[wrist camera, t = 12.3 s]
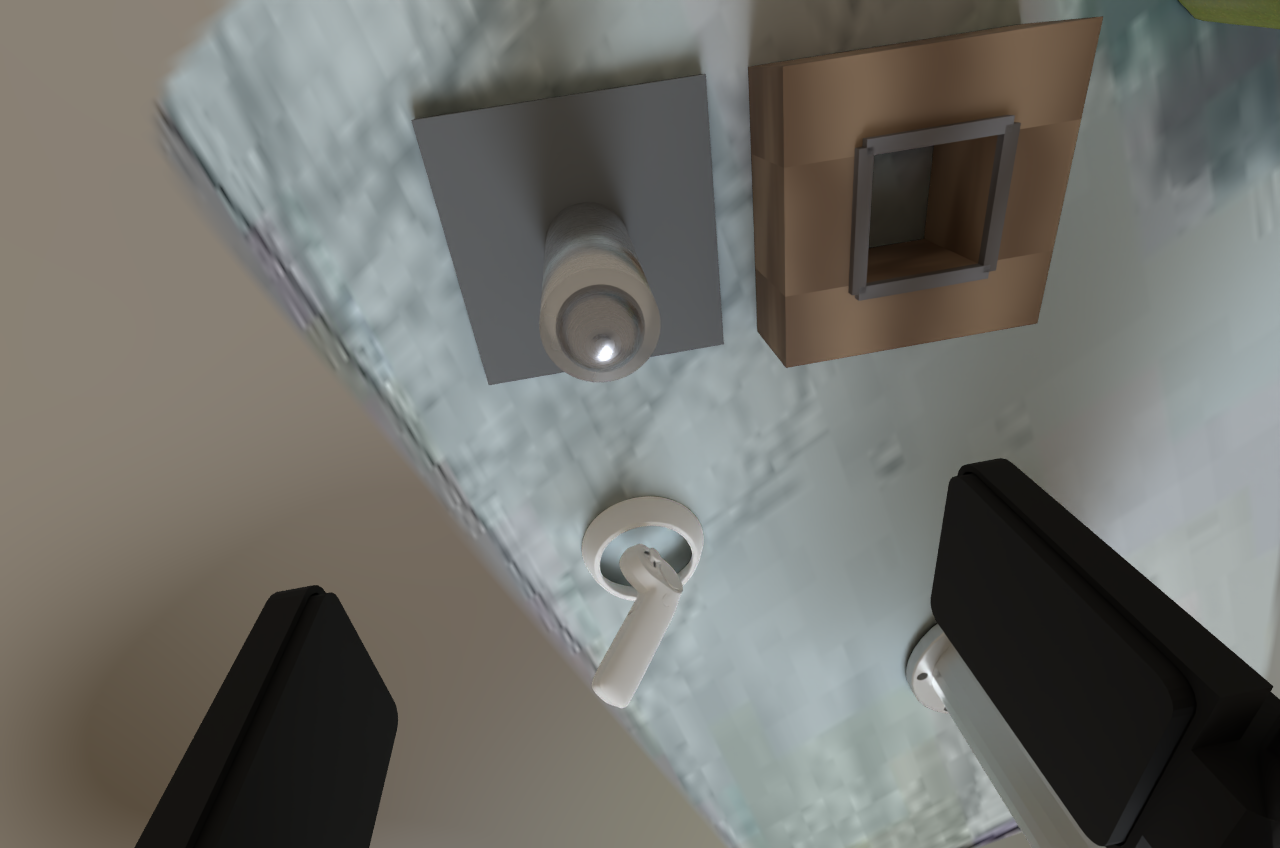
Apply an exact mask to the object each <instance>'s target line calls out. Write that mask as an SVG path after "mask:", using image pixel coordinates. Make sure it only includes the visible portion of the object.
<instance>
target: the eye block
mask: <svg viewBox="0 0 1280 848" xmlns="http://www.w3.org/2000/svg"><path fill="white" fill-rule="evenodd" d="M1102 20H1103V16H1102V17H1092V18H1081V19H1071V20H1060V21H1049V22H1039V23H1028V24H1019V25H1013V26H1006V27H1000V28H994V29H987V30H981V31H975V32H968V33H962V34H955V35H949V36H943V37H936V38H930V39H923V40H917V41H911V42H904V43H898V44H891V45H885V46H879V47H872V48H866V49H860V50H853V51H847V52H840V53H834V54H828V55H821V56H815V57H808V58H802V59H796V60H789V61H783V62H776V63H770V64H764V65H757V66H751V67H748V77H749V105H750V133H751V161H752V189H753V217H754V245H755V273H756V301H757V329H758V333H759V334H760V335H761V337H762V338H763V339H764V340H765V342H766V343H767V344H768V345H769V347H770V348H771V349H772V351H773V352H774V353H775V354H776V356H777V357H778V358H779V359H780V361H781V362H782V363H783V365H784V366H785V367H786V368H788V367H794V366H799V365H805V364H811V363H816V362H822V361H827V360H833V359H839V358H844V357H850V356H856V355H861V354H867V353H873V352H878V351H884V350H889V349H895V348H901V347H906V346H912V345H918V344H923V343H929V342H935V341H940V340H946V339H951V338H957V337H963V336H968V335H974V334H980V333H985V332H991V331H997V330H1002V329H1008V328H1013V327H1019V326H1025V325H1030V324H1036V323H1037V322H1038V318H1039V313H1040V308H1041V304H1042V299H1043V294H1044V290H1045V285H1046V280H1047V276H1048V271H1049V266H1050V262H1051V257H1052V252H1053V248H1054V243H1055V238H1056V234H1057V229H1058V225H1059V220H1060V215H1061V211H1062V206H1063V201H1064V197H1065V192H1066V187H1067V183H1068V178H1069V173H1070V169H1071V164H1072V159H1073V155H1074V150H1075V145H1076V141H1077V136H1078V131H1079V127H1080V122H1081V118H1082V113H1083V108H1084V104H1085V99H1086V94H1087V90H1088V85H1089V80H1090V76H1091V71H1092V66H1093V62H1094V57H1095V52H1096V48H1097V43H1098V38H1099V34H1100V29H1101V25H1102ZM933 145H934V148H933V158H932V167H931V177H930V186H929V196H928V205H927V215H926V224H925V234H924V239H920V240H914V241H908V242H902V243H897V244H891V245H885V246H879V247H873V248H869V232H870V216H871V199H872V182H873V166H874V155H878V154H884V153H890V152H896V151H903V150H909V149H915V148H921V147H927V146H933Z"/></svg>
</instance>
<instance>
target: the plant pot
mask: <svg viewBox="0 0 1280 848" xmlns="http://www.w3.org/2000/svg"><path fill="white" fill-rule="evenodd" d="M1178 1H1179V2H1180V3H1181V4H1182V5H1183V6H1184V7H1185V8H1186V9H1187V10H1188V11H1189V12H1190V13H1191V14H1192V15H1193V17H1194V18H1196V19H1199V20H1203V21H1211V22H1219V23H1227V24H1237V25H1248V26H1258V27H1267V28H1275V29H1280V0H1178Z"/></svg>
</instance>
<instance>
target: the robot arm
mask: <svg viewBox="0 0 1280 848" xmlns="http://www.w3.org/2000/svg"><path fill="white" fill-rule="evenodd" d="M931 608H932V612H933V615H934V617H935V620H936V621H937V624H936V625H935V626H934V627H932V628H931V629H930V630H929V631H928V632H927V633H926V634H925V635H924V636H923V637H922V638H921V640H920V641H919V643H918V644H917V645H916V647H915V648H914V650H913V652H912V654H911V656H910V658H909V660H908V665H907V669H906V676H907V682H908V684H909V686H910V689H911V690H912V692H913V694H914V695H915V697H916V698H917V700H918V701H919V702H920V703H921V704H923V705H924V706H925V707H927V708H929V709H932V710H934V711H937V712H942V713H947V714H950V716H951V717H952V719H953V721H954V722H955V724H956V726H957V727H958V729H959V730H960V732H961V734H962V735H963V737H964V738H965V740H966V742H967V743H968V745H969V747H970V748H971V750H972V751H973V753H974V755H975V756H976V758H977V760H978V761H979V763H980V764H981V766H982V768H983V769H984V771H985V772H986V774H987V776H988V777H989V779H990V781H991V782H992V784H993V785H994V787H995V789H996V790H997V792H998V794H999V795H1000V797H1001V798H1002V800H1003V802H1004V803H1005V805H1006V806H1007V808H1008V810H1009V811H1010V813H1011V815H1012V816H1013V818H1014V819H1015V821H1016V823H1017V824H1018V826H1019V828H1020V829H1021V831H1022V832H1023V834H1024V835H1025V837H1026V839H1027V840H1028V842H1029V844H1030V845H1031V847H1032V848H1280V699H1278V698H1277V697H1276V696H1275V695H1274V694H1273V693H1272V692H1270V691H1271V690H1272V688H1273V686H1272V685H1271V684H1270V683H1269V682H1268V681H1266V680H1265V679H1264V678H1263V677H1262V676H1261V675H1259V674H1258V673H1257V672H1256V671H1255V670H1254V669H1252V668H1251V667H1250V666H1249V665H1248V664H1247V663H1245V662H1244V661H1243V660H1242V659H1241V658H1240V657H1238V656H1237V655H1236V654H1235V653H1234V652H1233V651H1231V650H1230V649H1229V648H1228V647H1227V646H1225V645H1224V644H1223V643H1222V642H1221V641H1220V640H1218V639H1217V638H1216V637H1215V636H1214V635H1213V634H1211V633H1210V632H1209V631H1208V630H1207V629H1206V628H1204V627H1203V626H1202V625H1201V624H1200V623H1199V622H1197V621H1196V620H1195V619H1194V618H1193V617H1192V616H1190V615H1189V614H1188V613H1187V612H1186V611H1185V610H1183V609H1182V608H1181V607H1180V606H1179V605H1178V604H1176V603H1175V602H1174V601H1173V600H1172V599H1170V598H1169V597H1168V596H1167V595H1166V594H1165V593H1163V592H1162V591H1161V590H1160V589H1159V588H1158V587H1156V586H1155V585H1154V584H1153V583H1152V582H1151V581H1149V580H1148V579H1147V578H1146V577H1145V576H1144V575H1142V574H1141V573H1140V572H1139V571H1138V570H1137V569H1135V568H1134V567H1133V566H1132V565H1131V564H1130V563H1128V562H1127V561H1126V560H1125V559H1124V558H1123V557H1121V556H1120V555H1119V554H1118V553H1117V552H1116V551H1114V550H1113V549H1112V548H1111V547H1110V546H1108V545H1107V544H1106V543H1105V542H1104V541H1103V540H1101V539H1100V538H1099V537H1098V536H1097V535H1096V534H1094V533H1093V532H1092V531H1091V530H1090V529H1089V528H1087V527H1086V526H1085V525H1084V524H1083V523H1082V522H1080V521H1079V520H1078V519H1077V518H1076V517H1075V516H1073V515H1072V514H1071V513H1070V512H1069V511H1068V510H1066V509H1065V508H1064V507H1063V506H1062V505H1061V504H1059V503H1058V502H1057V501H1056V500H1055V499H1053V498H1052V497H1051V496H1050V495H1049V494H1048V493H1046V492H1045V491H1044V490H1043V489H1042V488H1041V487H1039V486H1038V485H1037V484H1036V483H1035V482H1034V481H1032V480H1031V479H1030V478H1029V477H1028V476H1027V475H1025V474H1024V473H1023V472H1022V471H1021V470H1020V469H1018V468H1017V467H1016V466H1015V465H1014V464H1013V463H1011V462H1010V461H1008V460H1006V459H1002V458H999V459H994V460H988V461H983V462H978V463H972V464H967V465H964V466H962V467H961V468H960V470H959V472H958V475H957V476H955V477H952V479H951V480H950V482H949V486H948V492H947V499H946V505H945V511H944V518H943V524H942V530H941V537H940V543H939V549H938V556H937V562H936V569H935V575H934V581H933V588H932V594H931ZM397 725H398V713H397V708H396V705H395V702H394V701H393V698H392V697H391V695H390V693H389V691H388V689H387V687H386V686H385V684H384V682H383V680H382V678H381V676H380V675H379V672H378V671H377V669H376V667H375V665H374V664H373V662H372V660H371V658H370V656H369V654H368V652H367V651H366V649H365V647H364V645H363V643H362V641H361V639H360V638H359V636H358V634H357V632H356V630H355V628H354V626H353V625H352V623H351V621H350V619H349V617H348V615H347V614H346V612H345V610H344V608H343V606H342V604H341V602H340V601H339V599H338V597H337V596H336V595H335V594H334V593H326V592H325V591H324V590H323V588H321V587H319V586H318V585H313V586H307V587H302V588H297V589H291V590H286V591H281V592H276V593H275V594H273V595H271V596H270V598H269V599H268V600H267V602H266V604H265V606H264V608H263V609H262V611H261V613H260V615H259V617H258V619H257V621H256V623H255V624H254V626H253V628H252V630H251V632H250V634H249V636H248V638H247V639H246V641H245V643H244V645H243V647H242V649H241V650H240V652H239V654H238V656H237V658H236V660H235V662H234V664H233V665H232V667H231V669H230V671H229V673H228V675H227V677H226V679H225V680H224V682H223V684H222V686H221V688H220V690H219V691H218V693H217V695H216V697H215V699H214V701H213V703H212V704H211V706H210V708H209V710H208V712H207V714H206V716H205V718H204V719H203V721H202V723H201V725H200V727H199V729H198V730H197V732H196V734H195V736H194V739H193V740H192V742H191V743H190V745H189V747H188V749H187V751H186V753H185V755H184V757H183V759H182V760H181V762H180V764H179V766H178V768H177V770H176V771H175V774H174V775H173V777H172V779H171V781H170V783H169V784H168V786H167V788H166V790H165V792H164V794H163V796H162V797H161V799H160V801H159V803H158V805H157V807H156V809H155V811H154V812H153V814H152V816H151V818H150V820H149V822H148V824H147V825H146V827H145V829H144V831H143V833H142V835H141V837H140V839H139V840H138V842H137V844H136V846H135V848H369V846H370V841H371V837H372V833H373V829H374V825H375V821H376V816H377V812H378V808H379V803H380V799H381V795H382V791H383V787H384V782H385V778H386V774H387V770H388V765H389V761H390V757H391V753H392V748H393V744H394V739H395V736H396V731H397Z"/></svg>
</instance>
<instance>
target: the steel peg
mask: <svg viewBox="0 0 1280 848" xmlns="http://www.w3.org/2000/svg"><path fill="white" fill-rule="evenodd" d="M660 326H661V324H660V314H659V310H658V307H657V304H656V301H655V299H654V296H653V294H652V291H651V289H650V286H649V284H648V281H647V279H646V276H645V274H644V271H643V269H642V266H641V264H640V261H639V259H638V256H637V254H636V251H635V249H634V246H633V244H632V241H631V239H630V236H629V234H628V231H627V229H626V227H625V225H624V223H623V221H622V220H621V219H620V217H619V216H618V215H617V214H616V213H615V212H613V211H612V210H611V209H609V208H607V207H605V206H603V205H600V204H597V203H592V202H583V203H577V204H574V205H571V206H569V207H567V208H565V209H564V210H562V211H561V212H560V213H559V214H558V215H557V216H556V217H555V218H554V220H553V221H552V223H551V224H550V226H549V229H548V232H547V236H546V244H545V257H544V270H543V283H542V295H541V308H540V321H539V331H540V337H541V341H542V344H543V346H544V349H545V351H546V353H547V354H548V356H549V357H550V359H551V360H552V361H553V362H554V363H555V364H556V365H557V366H558V367H559V368H560V369H561V370H563V371H564V372H566V373H567V374H569V375H571V376H573V377H575V378H578V379H581V380H585V381H590V382H608V381H614V380H618V379H620V378H623V377H626V376H628V375H630V374H632V373H633V372H635V371H636V370H638V369H639V368H640V367H641V366H642V365H643V364H644V363H645V362H646V361H647V360H648V359H649V357H650V356H651V354H652V353H653V351H654V349H655V347H656V345H657V342H658V339H659V335H660Z"/></svg>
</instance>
